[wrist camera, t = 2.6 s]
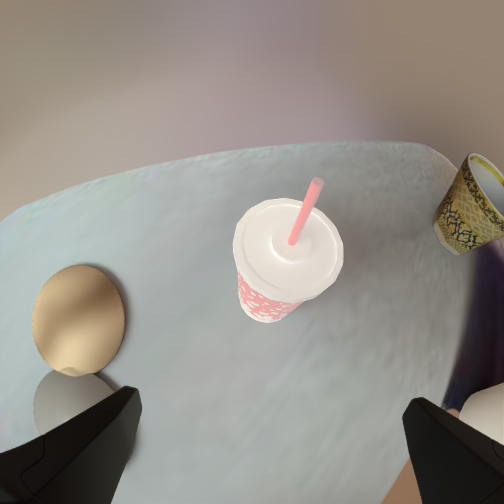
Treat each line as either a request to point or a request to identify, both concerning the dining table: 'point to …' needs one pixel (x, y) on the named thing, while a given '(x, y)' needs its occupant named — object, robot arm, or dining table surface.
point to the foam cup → (486, 412)
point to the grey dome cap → (66, 398)
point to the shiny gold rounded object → (78, 321)
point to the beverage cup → (285, 255)
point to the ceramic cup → (471, 207)
